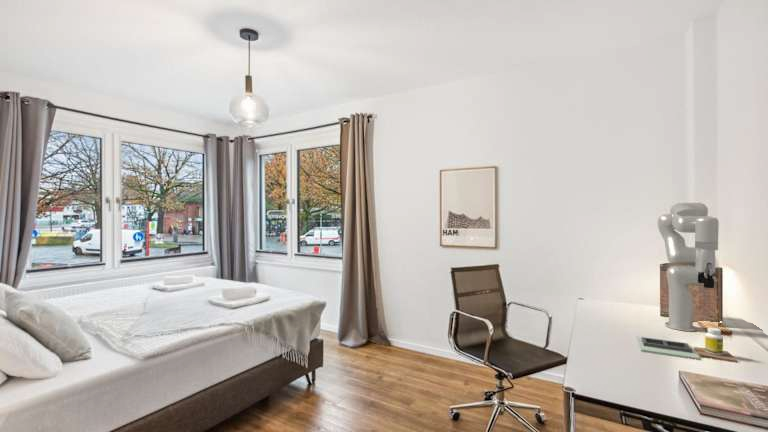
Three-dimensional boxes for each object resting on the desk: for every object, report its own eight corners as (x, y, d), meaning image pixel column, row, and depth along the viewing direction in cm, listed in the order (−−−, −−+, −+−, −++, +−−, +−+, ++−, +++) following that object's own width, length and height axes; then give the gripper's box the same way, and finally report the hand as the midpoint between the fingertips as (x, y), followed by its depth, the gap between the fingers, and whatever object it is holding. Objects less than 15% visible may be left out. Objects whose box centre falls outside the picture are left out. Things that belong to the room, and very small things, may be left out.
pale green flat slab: (636, 337, 170) (636, 333, 170) (688, 345, 161) (688, 340, 161) (641, 351, 153) (641, 346, 153) (699, 360, 144) (699, 354, 144)
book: (723, 323, 194) (723, 267, 194) (718, 326, 189) (718, 269, 189) (665, 313, 215) (665, 262, 215) (659, 316, 209) (659, 263, 210)
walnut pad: (693, 348, 157) (693, 346, 157) (727, 353, 151) (727, 351, 151) (700, 356, 147) (700, 355, 147) (737, 362, 142) (737, 360, 142)
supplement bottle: (719, 356, 146) (719, 331, 146) (702, 351, 151) (702, 328, 151) (725, 354, 148) (725, 329, 148) (708, 349, 153) (708, 326, 153)
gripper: (690, 243, 166) (689, 280, 167) (700, 247, 151) (699, 288, 152) (712, 244, 162) (711, 282, 163) (724, 248, 147) (723, 290, 148)
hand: (705, 285), depth 157 cm, fingers open, 9 cm apart
